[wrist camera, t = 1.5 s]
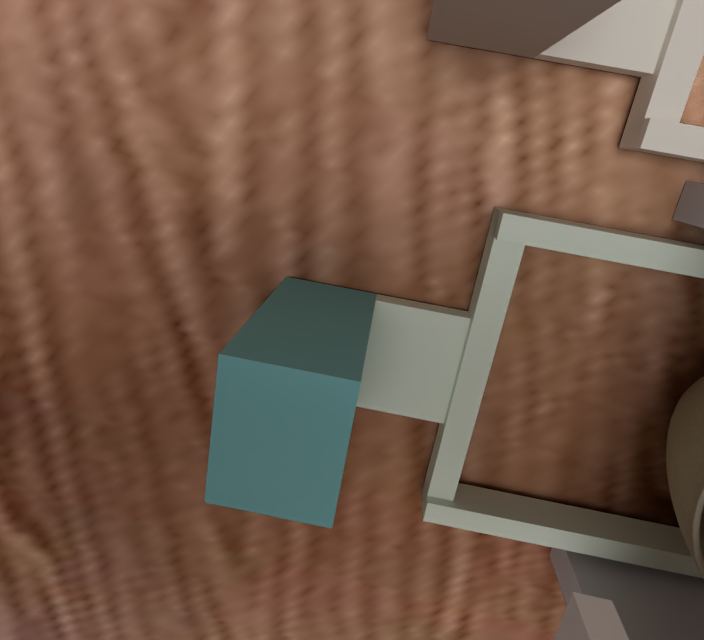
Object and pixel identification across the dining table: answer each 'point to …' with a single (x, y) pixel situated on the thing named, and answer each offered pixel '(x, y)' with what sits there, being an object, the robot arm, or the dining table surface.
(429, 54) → the dining table surface
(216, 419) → the frame
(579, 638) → the robot arm
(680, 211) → the shelf
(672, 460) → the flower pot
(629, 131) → the open frame with post
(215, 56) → the dining table surface
